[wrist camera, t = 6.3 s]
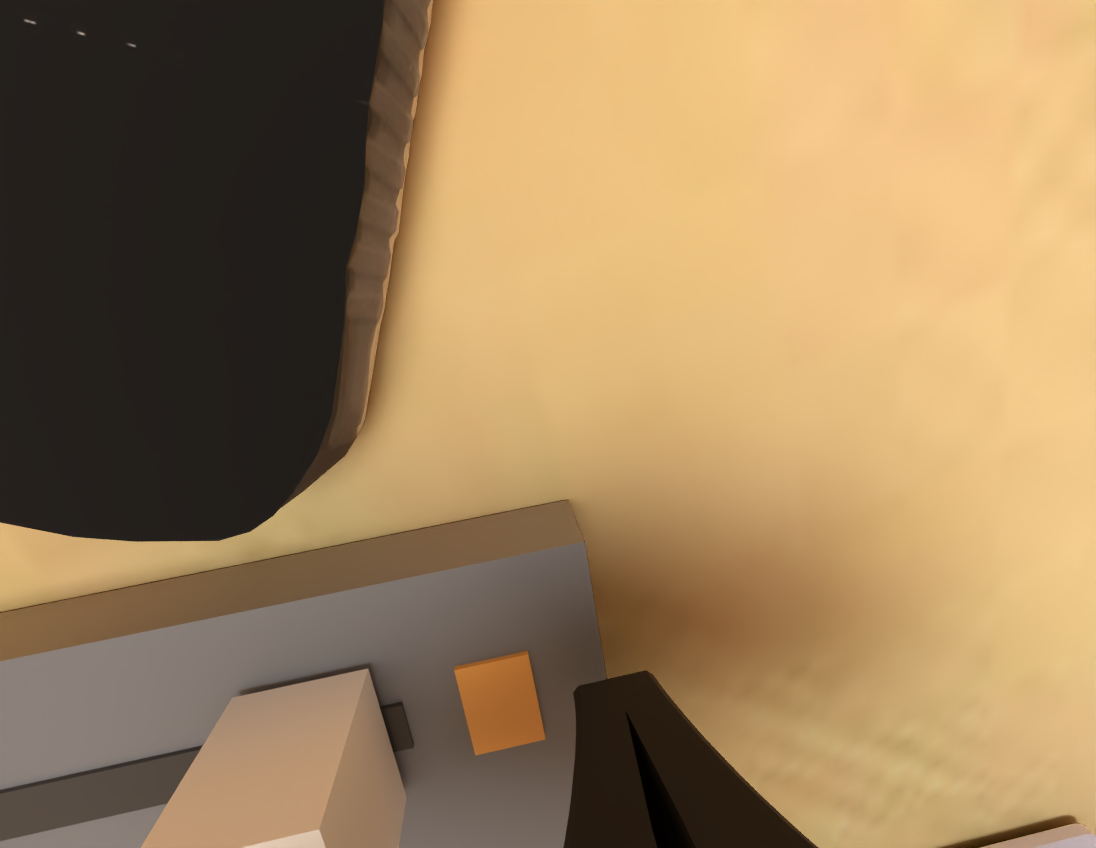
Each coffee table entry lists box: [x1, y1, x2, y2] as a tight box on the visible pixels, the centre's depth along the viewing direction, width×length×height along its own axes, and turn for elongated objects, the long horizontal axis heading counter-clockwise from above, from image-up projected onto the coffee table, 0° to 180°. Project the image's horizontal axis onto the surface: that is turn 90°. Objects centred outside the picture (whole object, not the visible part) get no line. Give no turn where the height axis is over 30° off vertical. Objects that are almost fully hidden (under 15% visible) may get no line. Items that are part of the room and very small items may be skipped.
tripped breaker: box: [141, 669, 407, 848], centre depth 9 cm, size 3×2×3 cm
